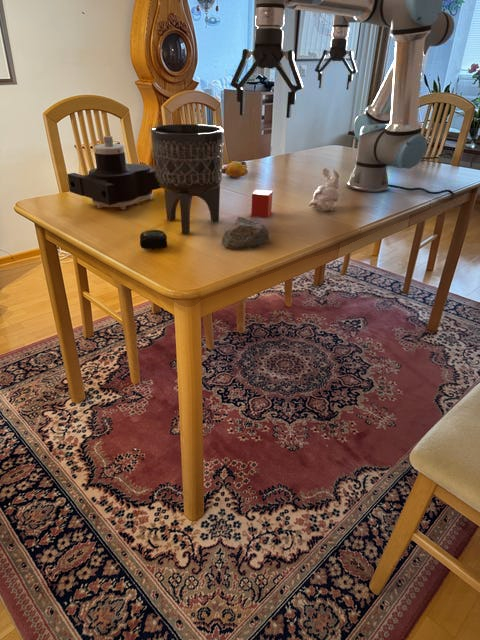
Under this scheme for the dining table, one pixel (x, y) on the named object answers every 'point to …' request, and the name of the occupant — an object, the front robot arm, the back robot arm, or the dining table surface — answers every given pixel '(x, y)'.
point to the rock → (245, 234)
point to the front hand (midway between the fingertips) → (265, 116)
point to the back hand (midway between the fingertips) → (333, 88)
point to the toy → (235, 169)
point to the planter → (188, 167)
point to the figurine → (326, 192)
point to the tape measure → (153, 239)
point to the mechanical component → (114, 178)
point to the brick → (261, 203)
